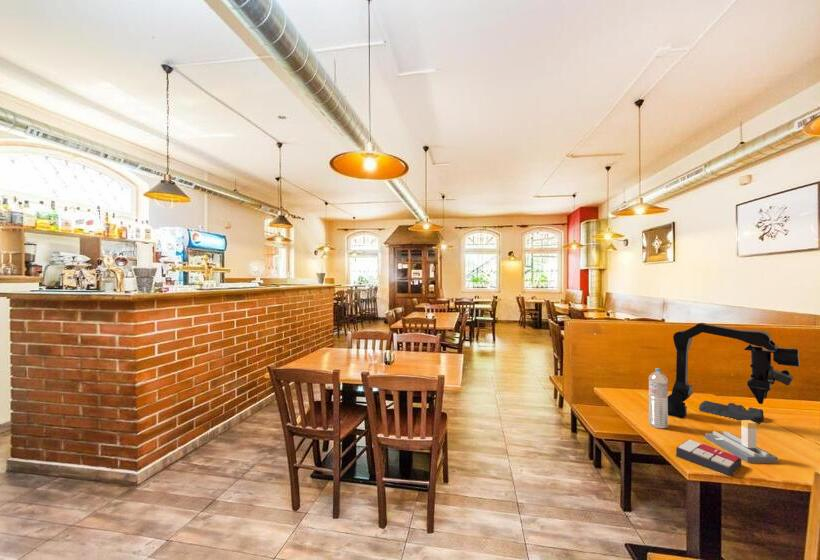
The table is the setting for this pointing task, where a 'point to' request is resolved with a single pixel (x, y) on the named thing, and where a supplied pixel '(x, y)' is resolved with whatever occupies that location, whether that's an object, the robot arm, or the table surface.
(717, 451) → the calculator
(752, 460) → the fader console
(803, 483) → the table surface
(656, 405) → the water bottle
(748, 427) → the fader tab
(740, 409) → the dark slate chunk
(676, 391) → the robot arm
